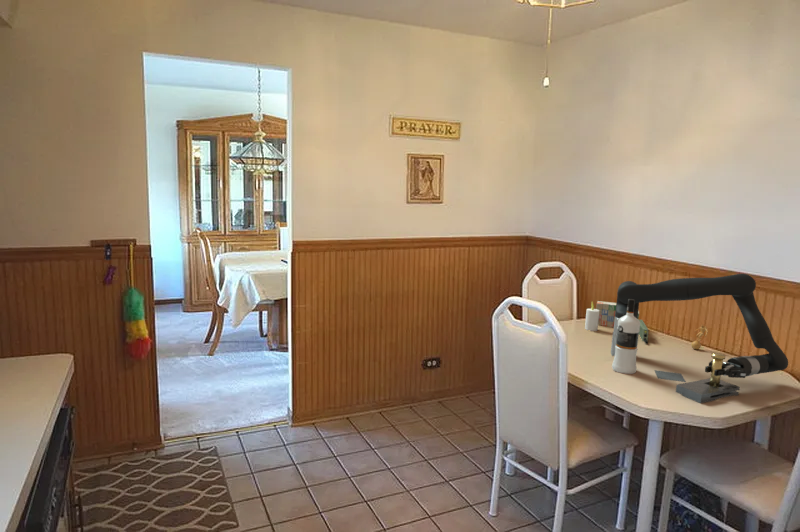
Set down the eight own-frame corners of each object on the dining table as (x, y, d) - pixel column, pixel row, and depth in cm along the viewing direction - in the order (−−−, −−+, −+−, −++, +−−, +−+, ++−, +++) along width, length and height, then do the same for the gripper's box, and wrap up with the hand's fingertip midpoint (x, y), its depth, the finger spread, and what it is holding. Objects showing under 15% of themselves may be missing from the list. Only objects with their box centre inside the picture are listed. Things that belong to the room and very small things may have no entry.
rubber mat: (657, 379, 213) (657, 378, 213) (654, 371, 222) (654, 370, 222) (685, 383, 210) (685, 382, 210) (681, 374, 219) (681, 373, 219)
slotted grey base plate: (700, 403, 191) (701, 394, 190) (675, 392, 200) (676, 384, 199) (738, 395, 200) (739, 386, 199) (713, 385, 209) (714, 377, 208)
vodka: (640, 374, 217) (649, 302, 213) (619, 375, 216) (627, 301, 211) (628, 366, 226) (635, 296, 222) (607, 367, 225) (614, 296, 220)
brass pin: (708, 392, 200) (713, 355, 197) (705, 388, 204) (710, 352, 201) (721, 394, 198) (726, 357, 196) (718, 389, 202) (723, 353, 200)
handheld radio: (642, 332, 283) (650, 345, 259) (636, 331, 283) (643, 345, 260) (643, 319, 282) (651, 332, 258) (636, 319, 282) (643, 331, 259)
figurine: (686, 346, 259) (689, 322, 257) (698, 346, 259) (701, 322, 257) (696, 352, 251) (700, 326, 249) (709, 352, 251) (712, 327, 249)
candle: (598, 331, 279) (601, 303, 277) (585, 330, 280) (588, 302, 278) (597, 328, 285) (599, 300, 283) (584, 327, 287) (586, 299, 284)
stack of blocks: (637, 327, 290) (640, 305, 288) (637, 330, 285) (639, 307, 283) (595, 322, 299) (597, 300, 297) (594, 324, 293) (596, 302, 291)
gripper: (727, 351, 211) (695, 355, 204) (762, 363, 198) (729, 367, 192) (724, 369, 212) (692, 374, 206) (759, 382, 199) (727, 388, 193)
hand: (710, 371), depth 199 cm, fingers closed on brass pin, 3 cm apart
